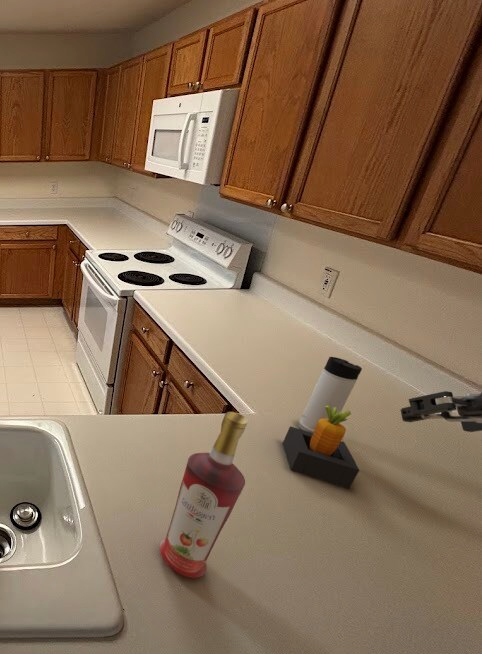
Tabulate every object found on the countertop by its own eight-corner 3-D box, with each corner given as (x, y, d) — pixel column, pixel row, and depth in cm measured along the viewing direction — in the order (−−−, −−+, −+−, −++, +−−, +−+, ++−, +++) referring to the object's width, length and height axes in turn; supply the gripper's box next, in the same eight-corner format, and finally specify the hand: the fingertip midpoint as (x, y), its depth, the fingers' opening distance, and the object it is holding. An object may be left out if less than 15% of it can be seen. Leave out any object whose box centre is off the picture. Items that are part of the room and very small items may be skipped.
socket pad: (335, 459, 93) (344, 441, 91) (349, 489, 84) (359, 470, 83) (282, 443, 97) (290, 426, 95) (290, 470, 88) (299, 451, 87)
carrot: (294, 459, 92) (320, 403, 86) (308, 455, 94) (335, 400, 88) (317, 475, 88) (346, 417, 82) (332, 470, 89) (361, 413, 84)
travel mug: (291, 424, 105) (322, 355, 97) (309, 421, 107) (341, 353, 99) (316, 440, 99) (351, 368, 92) (334, 436, 101) (370, 366, 94)
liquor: (212, 564, 66) (274, 420, 55) (195, 594, 61) (260, 443, 50) (167, 534, 70) (216, 396, 60) (148, 559, 66) (198, 414, 55)
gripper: (609, 379, 52) (477, 405, 67) (480, 361, 54) (379, 390, 69) (635, 439, 49) (491, 452, 64) (497, 418, 51) (388, 435, 66)
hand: (433, 420), depth 66 cm, fingers open, 8 cm apart
